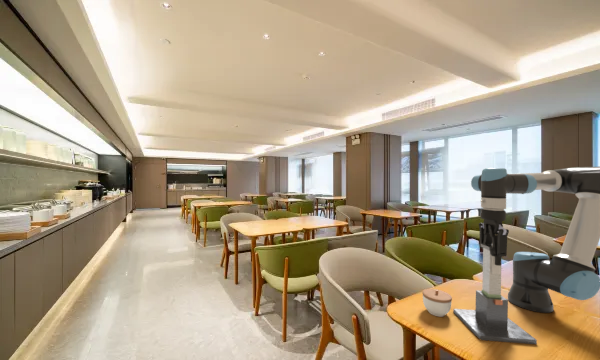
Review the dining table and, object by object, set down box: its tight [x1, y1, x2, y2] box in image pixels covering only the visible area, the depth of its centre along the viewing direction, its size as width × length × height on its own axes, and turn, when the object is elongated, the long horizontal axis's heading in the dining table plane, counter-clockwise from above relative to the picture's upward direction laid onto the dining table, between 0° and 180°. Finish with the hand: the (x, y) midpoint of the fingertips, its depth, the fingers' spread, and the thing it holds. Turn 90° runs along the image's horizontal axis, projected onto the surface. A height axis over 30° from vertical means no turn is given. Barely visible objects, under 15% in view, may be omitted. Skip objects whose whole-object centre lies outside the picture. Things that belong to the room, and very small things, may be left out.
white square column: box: [481, 244, 503, 298], centre depth 94 cm, size 5×5×21 cm
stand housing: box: [453, 289, 538, 345], centre depth 94 cm, size 18×18×12 cm
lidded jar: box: [421, 288, 453, 318], centre depth 104 cm, size 11×11×9 cm
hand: (491, 270), depth 94 cm, fingers closed on white square column, 4 cm apart
